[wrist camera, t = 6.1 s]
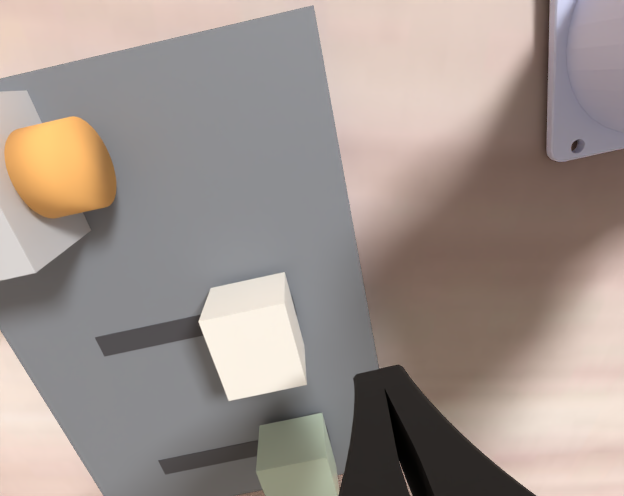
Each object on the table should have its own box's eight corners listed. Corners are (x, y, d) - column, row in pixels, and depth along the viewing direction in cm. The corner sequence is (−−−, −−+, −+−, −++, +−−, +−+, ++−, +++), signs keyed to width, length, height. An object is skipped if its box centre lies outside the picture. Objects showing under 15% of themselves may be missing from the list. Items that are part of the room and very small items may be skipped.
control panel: (311, 10, 14) (322, -22, 9) (391, 447, 22) (416, 536, 17) (-109, 108, 14) (-281, 120, 10) (125, 500, 22) (86, 600, 18)
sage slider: (322, 412, 19) (326, 457, 16) (336, 465, 20) (342, 513, 18) (259, 425, 19) (255, 471, 17) (278, 477, 20) (276, 526, 18)
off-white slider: (284, 271, 16) (284, 303, 14) (304, 345, 17) (306, 385, 15) (210, 287, 16) (198, 321, 14) (236, 359, 17) (228, 401, 15)
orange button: (92, 112, 13) (44, 120, 11) (125, 194, 14) (89, 219, 12) (45, 123, 13) (-14, 134, 11) (82, 203, 14) (36, 231, 12)
